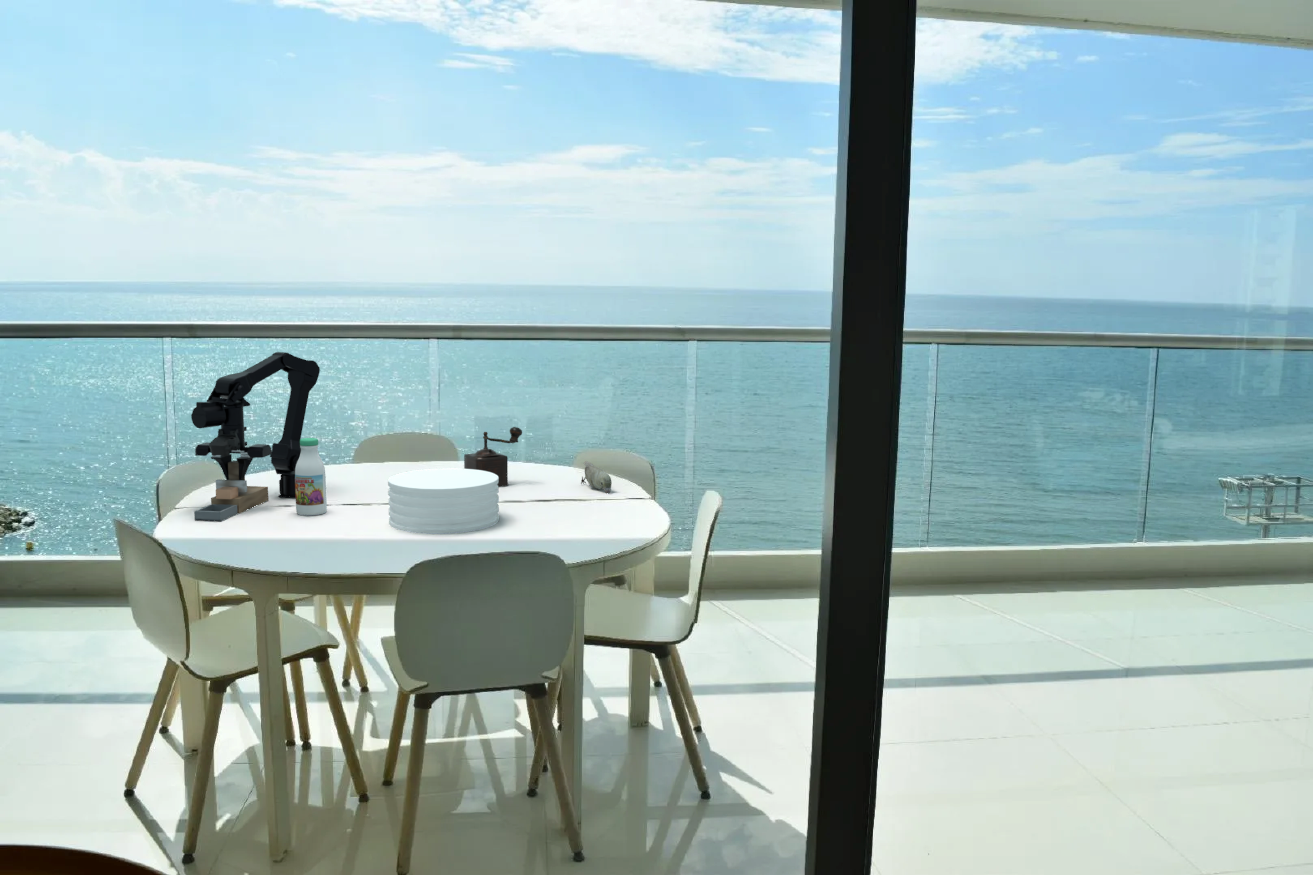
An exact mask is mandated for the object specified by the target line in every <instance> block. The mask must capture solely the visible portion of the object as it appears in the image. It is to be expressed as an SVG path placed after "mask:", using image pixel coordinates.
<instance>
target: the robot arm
mask: <svg viewBox="0 0 1313 875" xmlns="http://www.w3.org/2000/svg"><path fill="white" fill-rule="evenodd" d="M320 369H321V368H320V366H319V365H318V363H317V362H316V361H314V360H311V359H310V360H309V359H304V358H301V357H299V356H296V355H293V354H291V353H289V352H287V351H286V352H285V351H284V352H283V351H275V352H273V353H272V354H271V355H270V356H269V357H266V358H265V359H263V360H261V361H259V362H257V363H255V364H253V365H252V366H250V367H247V368H246V369H245V370H243V371H239V372H235V373H230V374H227V375H224V376H221V377H219V378H217V380H215V385H214V387H213V389H212V391H211V392H210V394H209V396H208V397H207V400H206V401H196V402H195V404H196V405H195V407H194V408H193V409H192V412H191V414H190V416H191V421H192V424H193V426H194V427H195V428H197V429H207V428H213V427H220V428H218V431H217V436H216V437H214V438H213V439H212V441H210V442H203V443H198V444H197V445H195V448H194V454H195V456H196V457H198V456H199V457H201V456H202V457H207V456H208V455H209V454H210V453H211V456H210V459H211V460H214V461H216V462H217V463H218V465H219V467H220V468H221V470H222V473H223V475H224V478H225V480H229V476H228V462H231V461H233V460H232V458H233V457H232V456H233V455H232V454H239V455H240V457H239V456H238V457H237V458H235V459H236V461H238V463H239V480H243V479H244V477H245V478H246V475H247V472H248V469H249V467H250V465H251V463H252V461H253V459H256V458H259V459H260V458H261V459H262V458H266V457H268V456H269V457H270V459H271V460H270V462H271V465H272V466H273V468H274V470H275V473H276V475H280V479H279V481H278V485H279V486H278V487H279V494H278V497H279V498H293V499H294V498H295V499H296V493H295V468H296V464H297V462H298V459H299V457H300V453H301V448H300V439H302V432H303V429H304V428H303V427H304V423H305V422H304V421H305V416H306V411H307V405H308V401H309V395H310V392H311V390H312V389H313V388H314V387H315V385H316V384H317V382H318V379H319V376H320V371H321V370H320ZM279 371H284V372H285V373H287V381H288V383H289V387H290V394H289V400H288V404H287V409H286V414H285V420H284V427H283V432H282V437H281V439H280V440H279V441H278V442H277V443H276V442H273V443H272V446H271V445H270V444H269V443H267V444H265V443H260V444H259V443H256V444H252V445H249V446H248V441H246V440H245V439H246V438H245V436H246V435H245V432H246V431H247V426H245V416H244V408H245V407H250V406H251V403H250V402H249V401H248V400H246V398H245V396H247V395H248V394H249V393H250V392H251V391H252V390H253V387H254V386H255V385H257V384H259V383H260V382H262V381H263V380H266V379H267V378H269V377H271V376H273V375H274V374H276V373H278V372H279Z"/></svg>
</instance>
